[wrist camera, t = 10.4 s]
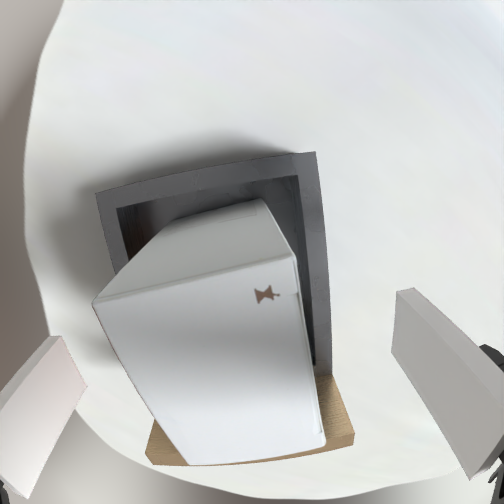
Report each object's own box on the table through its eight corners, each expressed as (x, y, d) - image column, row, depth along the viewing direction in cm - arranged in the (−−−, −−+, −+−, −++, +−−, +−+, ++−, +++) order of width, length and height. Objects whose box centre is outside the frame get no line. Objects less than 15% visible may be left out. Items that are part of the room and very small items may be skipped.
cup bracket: (299, 153, 17) (353, 146, 8) (319, 352, 21) (352, 444, 13) (123, 186, 17) (37, 210, 9) (176, 371, 21) (152, 464, 13)
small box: (169, 219, 17) (82, 296, 7) (263, 195, 17) (296, 247, 7) (207, 335, 19) (185, 469, 9) (290, 318, 19) (328, 449, 9)
